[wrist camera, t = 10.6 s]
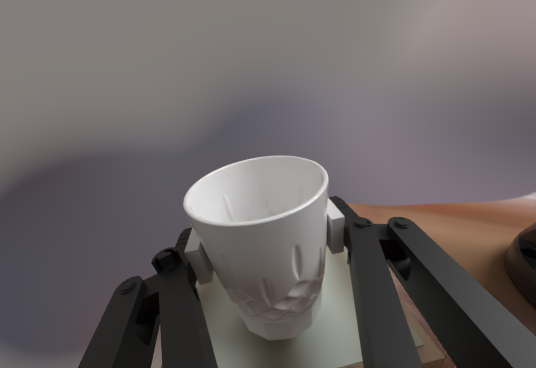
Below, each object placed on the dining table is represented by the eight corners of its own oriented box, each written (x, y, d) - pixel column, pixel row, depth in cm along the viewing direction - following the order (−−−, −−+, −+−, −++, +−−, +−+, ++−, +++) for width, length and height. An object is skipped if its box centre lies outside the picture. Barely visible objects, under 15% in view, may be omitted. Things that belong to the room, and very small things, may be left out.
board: (348, 260, 23) (349, 233, 21) (431, 385, 13) (447, 354, 11) (199, 295, 22) (186, 270, 20) (168, 459, 12) (137, 439, 10)
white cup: (208, 323, 14) (149, 210, 10) (258, 245, 20) (236, 155, 16) (317, 380, 10) (303, 243, 6) (338, 265, 16) (338, 155, 12)
